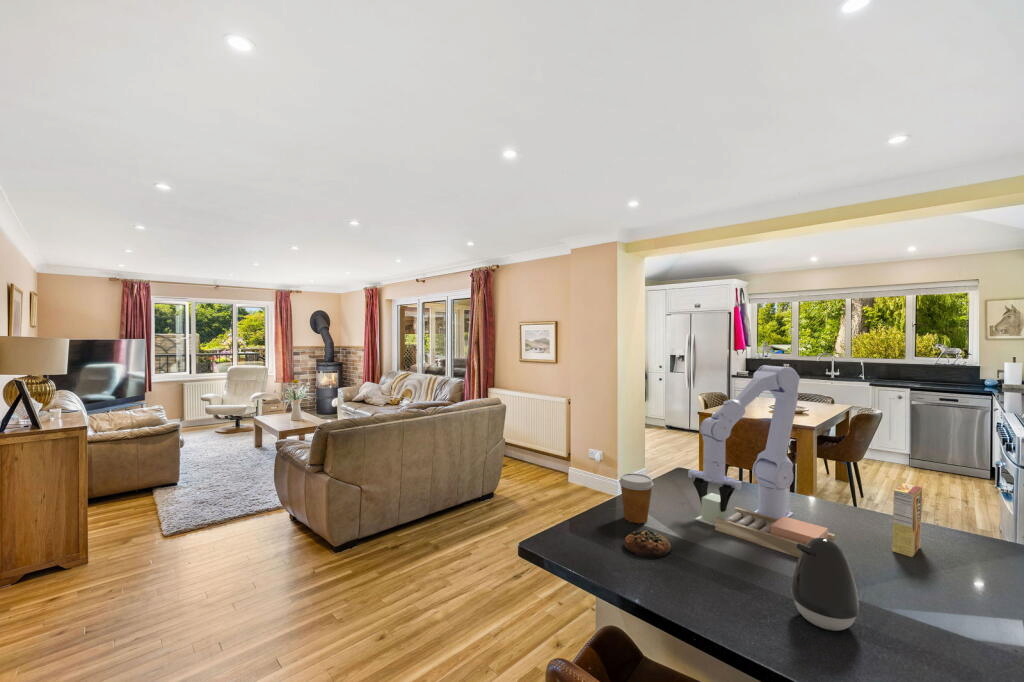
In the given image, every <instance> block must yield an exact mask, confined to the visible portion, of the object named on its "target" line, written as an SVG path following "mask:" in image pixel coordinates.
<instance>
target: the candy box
mask: <svg viewBox="0 0 1024 682" xmlns="http://www.w3.org/2000/svg"><path fill="white" fill-rule="evenodd" d="M922 499H923V487H922V486H918V485H914V484H913V485H912V484H909V483H908V484H907V483H904V482H903V483H901V484H900V485H899V486H897V487H896V488H894V489H893V508H892V509H893V513H892V515H893V516H892V542H891V544H892V545H891V546H892V547H891V549H892V551H891V552H893V553H896V554H901V555H903V556H907V557H909V558H913V557H914V556H915V555H916V553H917V552H918V551H919V550H920V548H921V535H922V534H921V528H922V506H923V505H922V504H923V503H922V502H923V500H922ZM918 549H919V550H918Z"/></svg>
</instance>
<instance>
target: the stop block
mask: <svg viewBox="0 0 1024 682" xmlns="http://www.w3.org/2000/svg"><path fill="white" fill-rule="evenodd" d="M720 502H721V499H720V494H717V493H712V492H711V493H707V495H706V496H704V497H702V506H700V507H701V512H700V513H701V515H700V516H701V518H702V519H705V520H709V521H712V522H715V518H717V517H718V518H721V519H726V518H728V517H729V503H728V504H727V508H726V511H724V512H721V510H720Z"/></svg>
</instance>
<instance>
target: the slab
mask: <svg viewBox="0 0 1024 682" xmlns="http://www.w3.org/2000/svg"><path fill="white" fill-rule="evenodd" d="M828 533H829V528H828V527H825V526H821V525H816V524H814V523H809V522H805V521H803V520H802V521H801V520H799V519H795V518H791V517H789V518H788V517H784V516H783V517H782V518H780V519H779V520H777V521H776V522H774V523H773V524H772V525H771V534H774V535H777V536H780V537H783V538H787V539H790V540H793V541H797V542H800V543H803V544H806V545H807V543H808V542H809V541H810V540H812V539H814V538H819V537H821V538H827V539H828Z"/></svg>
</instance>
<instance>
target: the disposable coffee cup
mask: <svg viewBox="0 0 1024 682" xmlns="http://www.w3.org/2000/svg"><path fill="white" fill-rule="evenodd" d="M618 482H619V484H620V491H621V497H622V509H623V517H624V518H625V519H626V520H628V521H630V522H634V523H644V524H646V523H647V522H648V517H649V512H650V511H649V510H650V504H651V497H652V491H653V487H654V482H653V478H652V477H651V476H649V475H646V474H642V473H635V472H633V473H632V472H631V473H624V474H622V475H621V476H620V479H619V480H618ZM625 519H624V520H625ZM626 520H625V521H626ZM628 521H627V522H628ZM630 522H629V523H630ZM645 522H646V523H645ZM634 523H633V524H634Z"/></svg>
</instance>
